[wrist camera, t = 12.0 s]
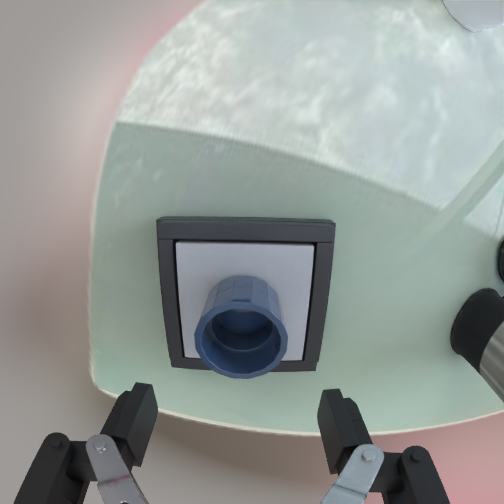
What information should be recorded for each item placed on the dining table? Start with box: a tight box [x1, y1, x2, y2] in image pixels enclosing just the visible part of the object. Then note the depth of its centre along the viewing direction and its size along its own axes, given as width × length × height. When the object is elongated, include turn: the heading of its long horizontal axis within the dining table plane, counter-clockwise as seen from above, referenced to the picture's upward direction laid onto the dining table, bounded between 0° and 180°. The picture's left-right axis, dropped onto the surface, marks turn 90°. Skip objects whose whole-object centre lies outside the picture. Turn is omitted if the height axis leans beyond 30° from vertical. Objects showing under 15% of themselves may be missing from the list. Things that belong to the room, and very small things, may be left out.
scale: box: [156, 217, 336, 372], centre depth 23 cm, size 14×13×3 cm
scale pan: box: [176, 239, 314, 361], centre depth 22 cm, size 10×10×1 cm
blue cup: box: [194, 276, 288, 379], centre depth 19 cm, size 6×6×5 cm
